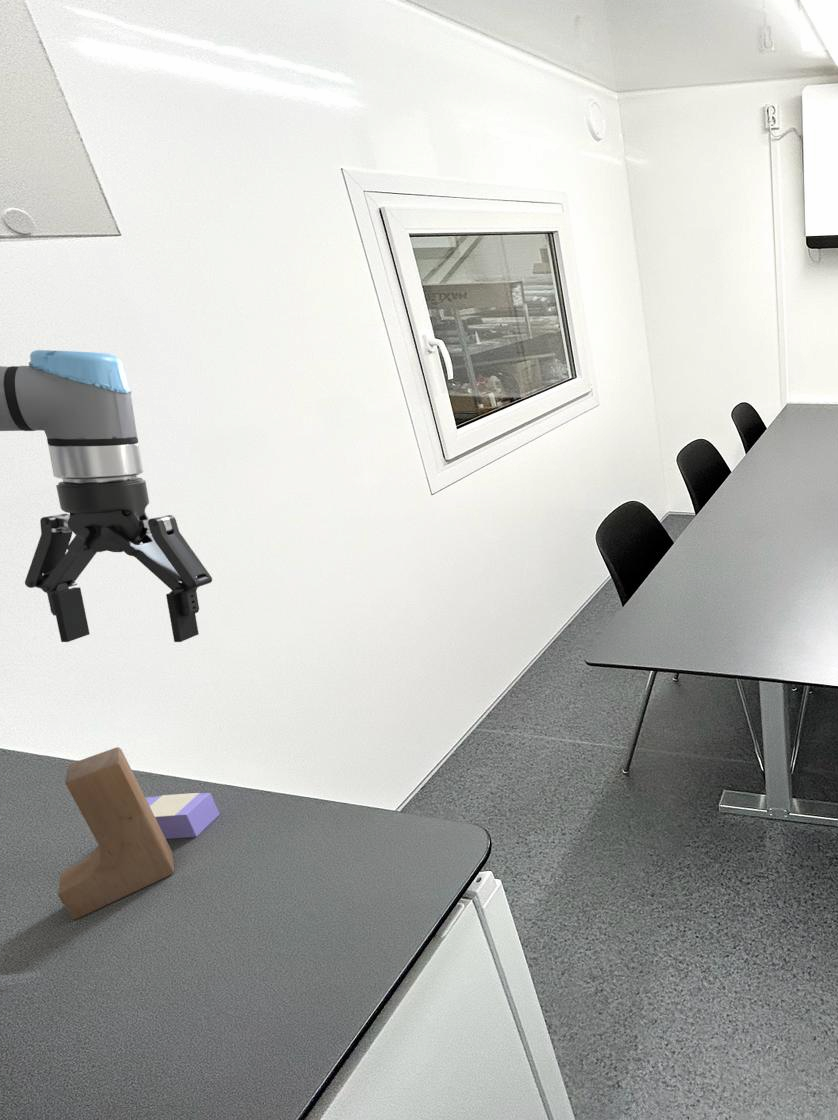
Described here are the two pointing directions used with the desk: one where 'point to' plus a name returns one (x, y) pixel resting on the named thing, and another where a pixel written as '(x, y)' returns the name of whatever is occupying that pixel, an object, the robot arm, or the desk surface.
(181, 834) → the snack box
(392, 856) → the desk surface
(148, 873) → the wooden block
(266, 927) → the desk surface
